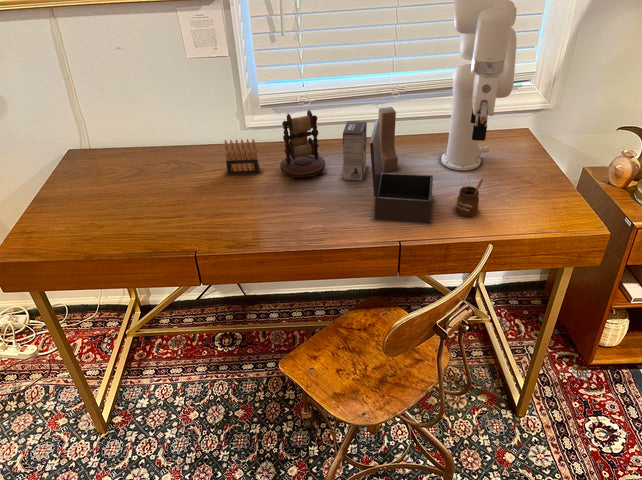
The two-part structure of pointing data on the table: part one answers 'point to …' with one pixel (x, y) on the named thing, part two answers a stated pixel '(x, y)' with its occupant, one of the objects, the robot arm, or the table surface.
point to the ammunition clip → (237, 160)
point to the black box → (404, 198)
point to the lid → (375, 157)
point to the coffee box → (354, 150)
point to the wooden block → (387, 138)
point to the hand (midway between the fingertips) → (477, 131)
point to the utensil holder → (468, 200)
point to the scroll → (301, 147)
